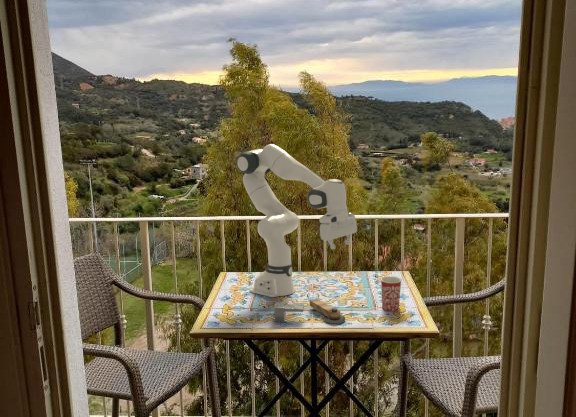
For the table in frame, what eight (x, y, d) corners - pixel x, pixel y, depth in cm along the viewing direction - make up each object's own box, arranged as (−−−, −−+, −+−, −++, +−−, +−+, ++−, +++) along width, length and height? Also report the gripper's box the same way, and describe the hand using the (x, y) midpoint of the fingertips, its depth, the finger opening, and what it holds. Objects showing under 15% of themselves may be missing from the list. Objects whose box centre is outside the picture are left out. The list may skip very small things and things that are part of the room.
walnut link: (342, 318, 223) (342, 309, 222) (332, 320, 220) (332, 312, 220) (318, 304, 239) (318, 296, 239) (308, 306, 237) (308, 298, 236)
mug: (403, 311, 231) (404, 282, 229) (383, 312, 231) (383, 283, 228) (395, 301, 244) (396, 273, 242) (376, 302, 243) (376, 274, 241)
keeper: (304, 316, 229) (304, 302, 228) (303, 322, 222) (302, 308, 221) (276, 315, 230) (276, 301, 229) (274, 322, 223) (274, 307, 222)
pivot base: (320, 322, 222) (320, 320, 222) (328, 315, 230) (328, 312, 230) (340, 325, 218) (340, 323, 218) (348, 318, 226) (348, 315, 226)
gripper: (348, 211, 242) (351, 241, 244) (316, 219, 229) (319, 250, 231) (359, 212, 238) (361, 242, 239) (326, 220, 225) (329, 252, 226)
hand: (340, 246), depth 235 cm, fingers open, 8 cm apart
